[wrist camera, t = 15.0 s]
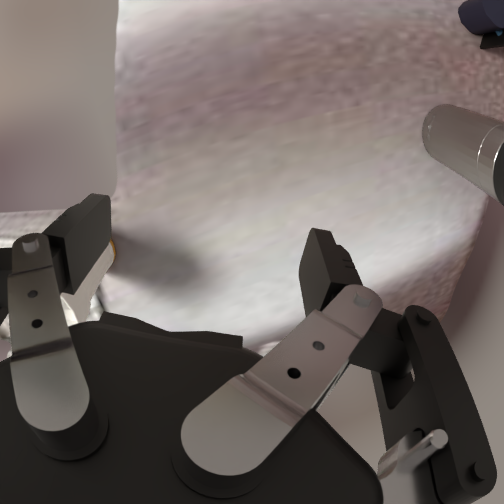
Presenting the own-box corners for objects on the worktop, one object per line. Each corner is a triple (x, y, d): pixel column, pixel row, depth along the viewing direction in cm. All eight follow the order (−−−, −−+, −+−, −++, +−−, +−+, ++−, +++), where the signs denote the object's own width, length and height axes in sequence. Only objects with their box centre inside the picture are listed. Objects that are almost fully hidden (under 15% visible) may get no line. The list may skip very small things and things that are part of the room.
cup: (109, 284, 54) (72, 355, 39) (59, 254, 51) (10, 316, 36) (131, 240, 49) (88, 311, 35) (75, 205, 46) (16, 264, 31)
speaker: (497, 31, 28) (534, 28, 20) (480, 49, 31) (518, 48, 22) (466, -5, 27) (500, -17, 18) (449, 12, 29) (482, 1, 20)
